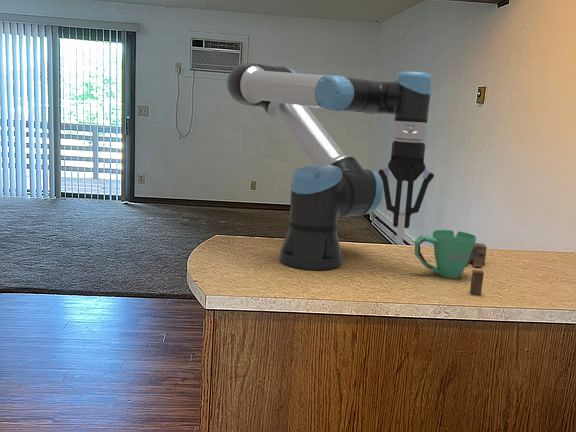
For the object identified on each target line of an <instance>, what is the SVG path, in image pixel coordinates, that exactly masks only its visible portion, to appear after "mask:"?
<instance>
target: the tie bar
mask: <svg viewBox="0 0 576 432" xmlns="http://www.w3.org/2000/svg"><path fill="white" fill-rule="evenodd" d="M482 260H483V258H482V256H481V255H480V253H472V257H471V264H472V266H473V267H475V268H477V267H478V268H482V267H483V265H482Z"/></svg>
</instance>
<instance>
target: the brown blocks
mask: <svg viewBox="0 0 576 432" xmlns="http://www.w3.org/2000/svg"><path fill="white" fill-rule="evenodd" d="M472 253H480V255H481V256H482V258H483V260H482V267H483V266H485V262H486V256H487V245H486V244H485V243H479V242H475V244H474V247H473V250H472V252H471V255H470V258H469V261H468V263H467V265H466V267H468V265H471V264H472V262H471V257H472ZM466 267H465V268H466ZM484 274H485V273H484V271H483V270H480V269H472V273H471V282H470V288H469V293H470V295H471V296H480V297H481V296H482V292H483V291H482V290H483V289H482V288H483V283H484V282H483V281H484V276H485V275H484Z"/></svg>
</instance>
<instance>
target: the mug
mask: <svg viewBox="0 0 576 432" xmlns="http://www.w3.org/2000/svg"><path fill="white" fill-rule="evenodd" d="M476 241H477V236H476V235H474V234H472V233H468V232H465V231H459V230H458V231H457V233H456V235H455V233H454V230H452V229H451V230H450V229H438V230H433V231H432V236H429V235H419V236H418V237H417V238H416V239H415V241H414V255H415V257H416V258H417V259H418V260H419V261H420V263H422V265H423V266H424V268H426V269H429V270H431V271H432V272H435V273H437V274H439V276H441V277H444V278H448V279H459V278H461V276H462V274H463V273H464V271H465V269H466V265H467V266H468V264H467V263H468V261H469V258H470V255H471V252H472V250H473V247H474V244H475V243H476ZM425 242H428V243H430V244H432V245H433V251H434V253H433V254H434V260H435V265H436V266H434V265H432V264H430V263H428V262H427V260H426V259H425V257H424V256H423V254H422V251H421V245H422V243H425Z"/></svg>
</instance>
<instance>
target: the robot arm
mask: <svg viewBox="0 0 576 432" xmlns="http://www.w3.org/2000/svg"><path fill="white" fill-rule="evenodd" d="M397 76H398V77H397V79H396V81H381V80H380V81H377V80H372V79H365V78H364V79H363V78H356V77H355V78H354V77H349V76H343V75H338V74H333V75H332V74H331V75H328V74H326V75H325V74H312V73H311V74H310V73H300V72H296V71H295V70H294V69H291V68H288V67H285V66H280V65H279V66H274V65H267V64H260V63H254V62H253V63H252V62H244V63H241V64H238V65H236V66H235V67H233V68H232V69H231V71H230V72H229V74H228V76H227V80H226V87H227V90H228V93H229V95H230V97H231V98H232V99H233V100H234V101H235V102H237V103H239V104H242V105H244V106H253V107H261V108H263V109H264V111H265V112H266V114H267V115H268V116H269V117H270V118H271V119H272V120H276V121H277V120H278V121H279V122H280V124H281V125H282V126H283V128H284V129H285V130H286V131H287V133H288V135H289V136H290V137H291V139H292V140H293V141H294V143H295V144H296V145H297V147H298V149H299V150H300V151H301V152H302V153H303V155H304V156H305V158H306V159H307V160H308V162H309V163H310V164H311V165H306V166H304V165H303V166H301V167H298V168H297V169H295V171H294V172H293V174H292V180H291V184H290V189H291V190H290V205H289V206H290V209H289V221H288V222H289V224H288V231H287V233H286V236H285V238H284V241H283V244H282V246H281V249H280V252H279V261H280V262H281V263H282V264H284V265H286V266H287V267H291V268H295V269H301V270H309V271H310V270H311V271H328V270H335V269H337V268H339V267H340V268H341V266H342V263H343V254H342V250H341V247H340V246H341V244H340V242H339V237H338V224H339V223H338V222H339V218H345V217H346V218H347V217H355V216H357V217H361V216H364V215H367V214H372V213H373V212H374V211H375V210H377V209H378V207H379V206H380V204H381V203H382V199H383V196H384V200H385V206H386V210H387V211H390V212H392V213H393V221H392V226H393V227H394V228H397V229H396V242H397V243H403V242H404V233H405V229H409V227H410V223H411V216H412V215H413V214H415V213H419V212H420V209H421V205H422V203H423V200H424V199H425V198H424V197H425V194H426V192H427V189H428V186H429V183H431V182H432V179H434V177H435V175H434V174H435V173H433V172H431V171H429V170H428V169H426V164H425V152H426V144H425V143H424V141H426V140H427V133H428V132H427V131H428V122H429V121H428V120H429V119H428V116H429V109H430V101H431V95H432V91H431V90H432V76H431V75H430V73H428V72H423V71H401V72H400V73H398V75H397ZM311 107H312V108H317V109H319V108H320V109H324V110H327V111H334V112H335V111H336V112H354V113H363V114H369V115H370V114H371V115H373V114H378V115H379V114H382V115H383V114H384V115H387V114H388V115H389V114H390V115H394V121H393V131H392V138H393V139H394V140H393V142H392V143H391V154H390V160H389V162H387V163H388V164H387V166H385V167H383V168H379V170H378V173H377V172H376V171H374V170H371V169H368V168H367V169H366V168H365V169H364V168H363V167H362V166H361V164H360V163H359V162H358V160H357V159H356V158H355V157H354V156H352V155H345V153H344V152H343V151H342V149H341V148H340V147H339V145H338V144H337V143H336V142H335V141H334V139H333V138H332V136H331V135H330V133H329V132H328V131H327V130H326V129H325V127H324V126H323V125H322V124H321V122H320V121H319V120H318V118H317V117H316V116H315V115H314V114H313V111H311V110H310V108H311ZM389 171H390V172H391V174H392V176H393V177H394V179H395V180H396V188H395V199H394V205H392V198H391V192H390V184H389V178H388V176H389V175H390V172H389ZM422 174H423V175H422ZM421 175H422V179H423V180H422V183H421V185H420V189H419V191H418V194H417V196H416V200H415V203H414V206H413V207H412V204H413V202H412V201H413V192H414V183H415V182H414V181H416V180H417V179H418V178H419V177H420V176H421ZM404 181H406V182H407V188H406V199H405V200H406V201H405V209H404V210H405V211H404V212H400V211H401V210H400V209H401V199H402V198H401V197H402V189H403V182H404ZM383 192H384V195H383Z"/></svg>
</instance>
